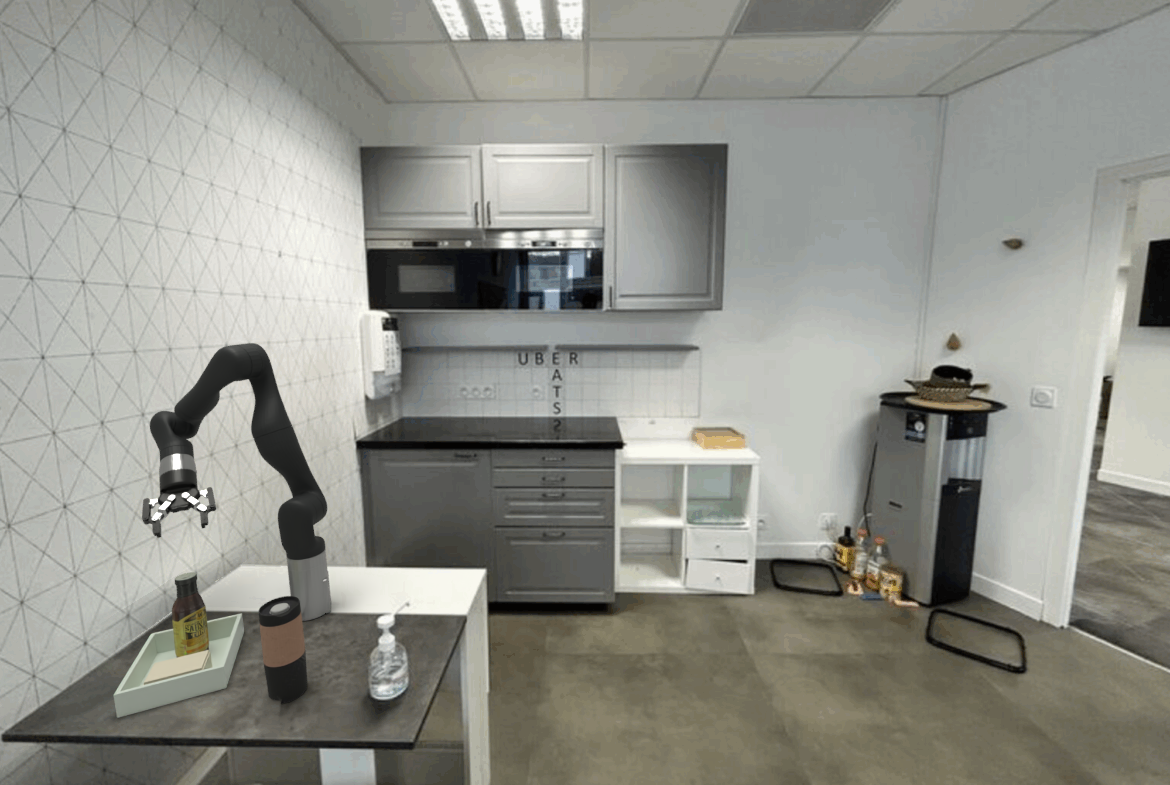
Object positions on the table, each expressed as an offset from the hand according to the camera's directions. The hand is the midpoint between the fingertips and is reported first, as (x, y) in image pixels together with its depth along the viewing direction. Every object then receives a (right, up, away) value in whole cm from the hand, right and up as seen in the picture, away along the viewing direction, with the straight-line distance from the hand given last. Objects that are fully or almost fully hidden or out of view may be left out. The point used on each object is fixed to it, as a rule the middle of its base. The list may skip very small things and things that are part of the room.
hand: (181, 531), depth 122 cm
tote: (+9, -30, -9) cm, 32 cm away
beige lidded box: (+12, -30, -15) cm, 35 cm away
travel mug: (+35, -31, -15) cm, 49 cm away
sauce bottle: (+7, -28, -5) cm, 29 cm away
